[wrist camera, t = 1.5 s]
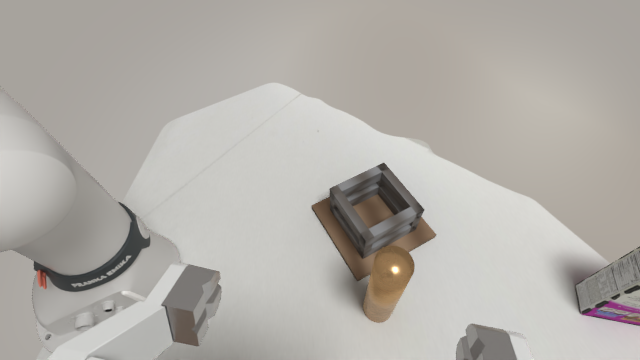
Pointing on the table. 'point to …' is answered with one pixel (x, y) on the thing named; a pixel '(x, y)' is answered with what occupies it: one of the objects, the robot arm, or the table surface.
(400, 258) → the copper tube
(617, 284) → the candy bar box
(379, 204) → the collar stand
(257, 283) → the table surface
